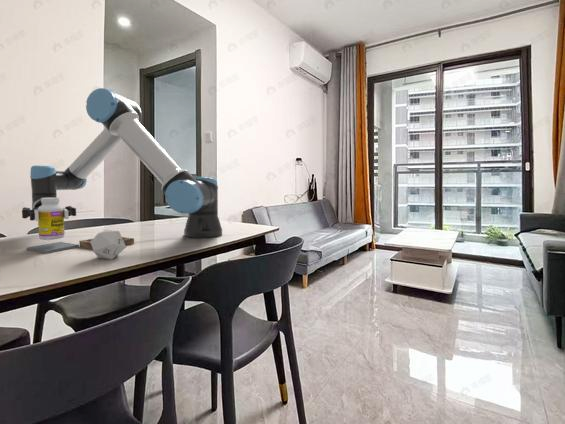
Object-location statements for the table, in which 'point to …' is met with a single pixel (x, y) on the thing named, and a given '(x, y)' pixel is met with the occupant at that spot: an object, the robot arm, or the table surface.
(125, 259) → the table surface
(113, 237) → the die
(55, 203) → the supplement bottle
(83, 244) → the walnut frame
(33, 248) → the slate coaster
